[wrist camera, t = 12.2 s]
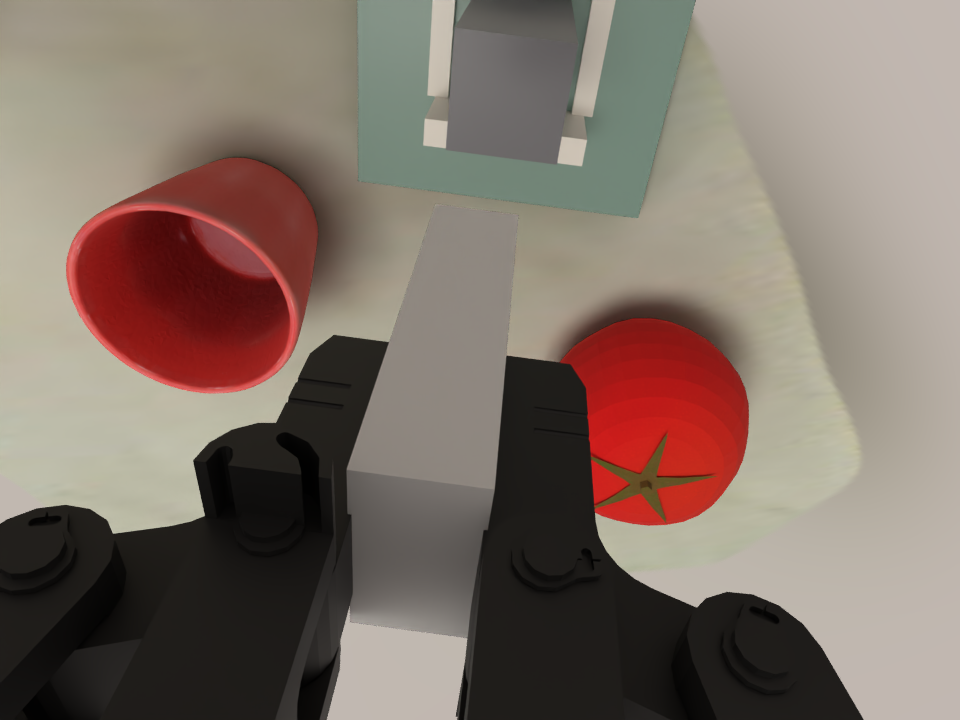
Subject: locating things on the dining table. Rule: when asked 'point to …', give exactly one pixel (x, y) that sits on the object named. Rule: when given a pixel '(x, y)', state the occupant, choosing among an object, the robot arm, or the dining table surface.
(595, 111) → the board
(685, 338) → the tomato
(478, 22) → the plug
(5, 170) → the dining table surface
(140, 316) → the flower pot
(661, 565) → the dining table surface
